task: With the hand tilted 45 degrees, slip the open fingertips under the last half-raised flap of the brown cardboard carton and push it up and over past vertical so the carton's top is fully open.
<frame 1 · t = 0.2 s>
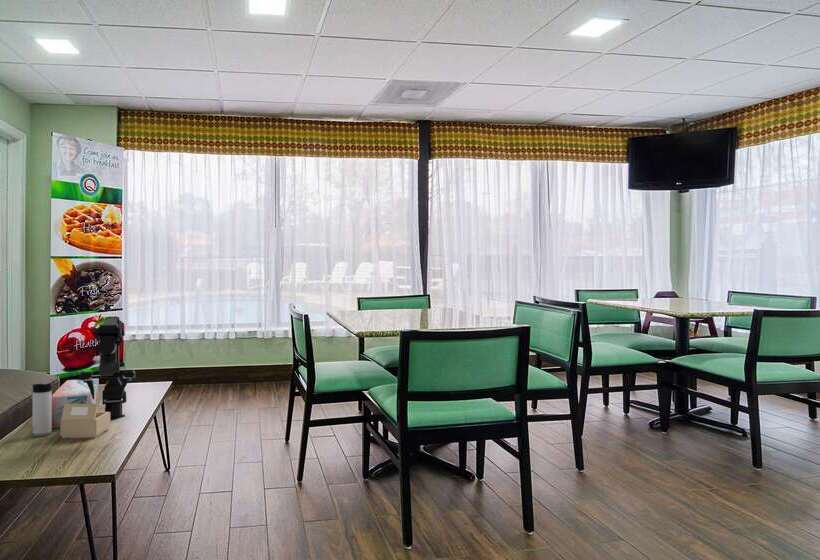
hand: (107, 398, 224), 15 cm above the table, tool pointing down, fingers open, 9 cm apart
travel mug: (41, 435, 229), on the table
soda box: (76, 416, 258), on the table
carton: (86, 433, 230), on the table
carton flap: (79, 411, 225), point 10 cm above the table, hinge at 65.0°
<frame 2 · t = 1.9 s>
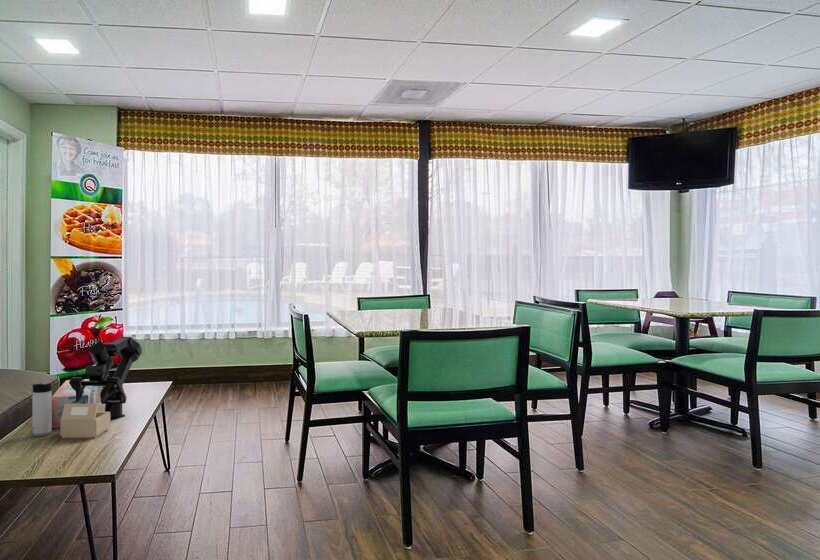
hand: (89, 402, 232), 12 cm above the table, tool tilted 45°, fingers open, 9 cm apart
nothing on the table moved.
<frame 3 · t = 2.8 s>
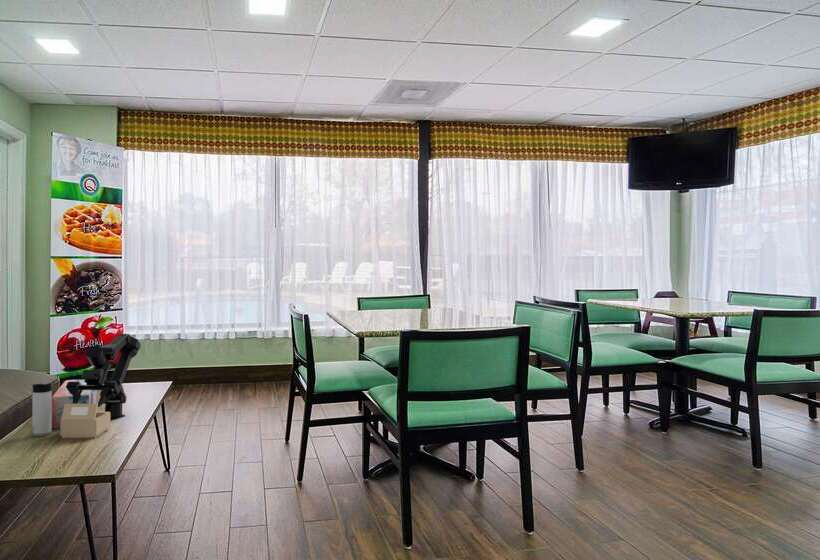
hand: (86, 406, 230), 11 cm above the table, tool tilted 45°, fingers open, 9 cm apart
nothing on the table moved.
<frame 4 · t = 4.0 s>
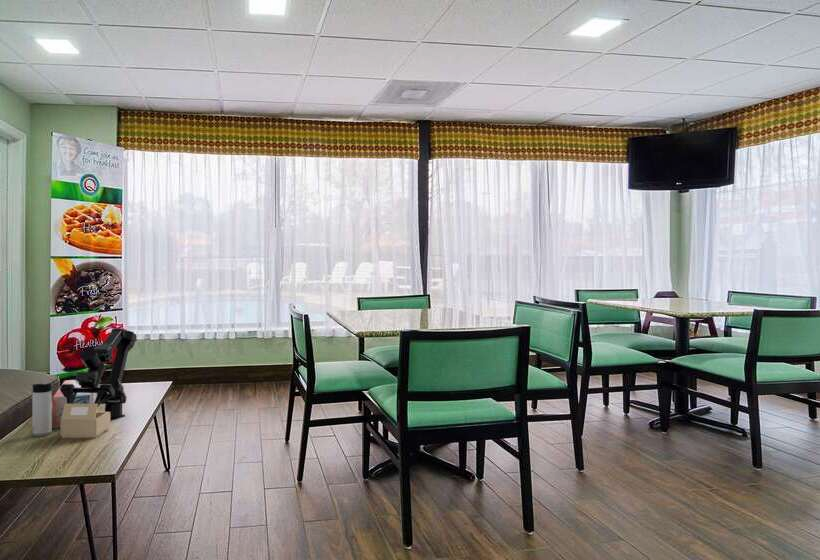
hand: (80, 409, 225), 10 cm above the table, tool tilted 45°
carton flap: (79, 411, 225), point 10 cm above the table, hinge at 66.0°, touching gripper
everything else where it was.
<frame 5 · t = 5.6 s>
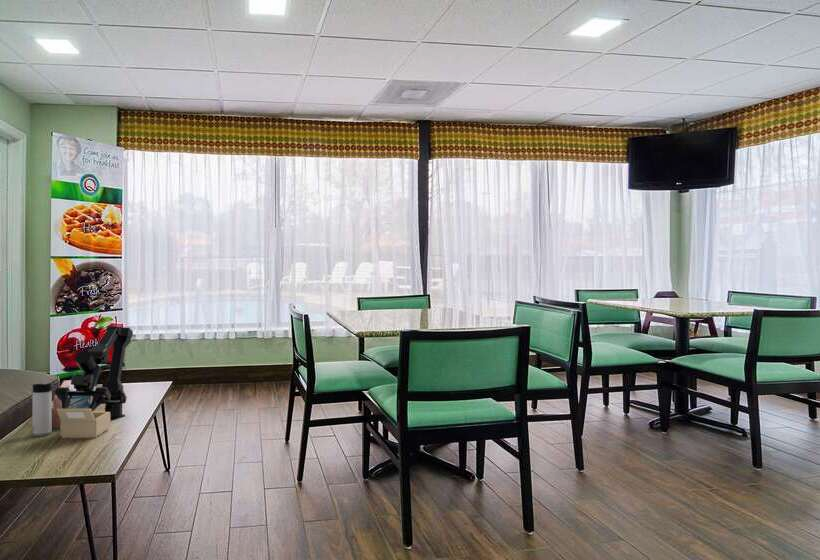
hand: (75, 413, 222), 10 cm above the table, tool tilted 45°
carton flap: (75, 415, 222), point 9 cm above the table, hinge at 123.0°, touching gripper
everything else where it was.
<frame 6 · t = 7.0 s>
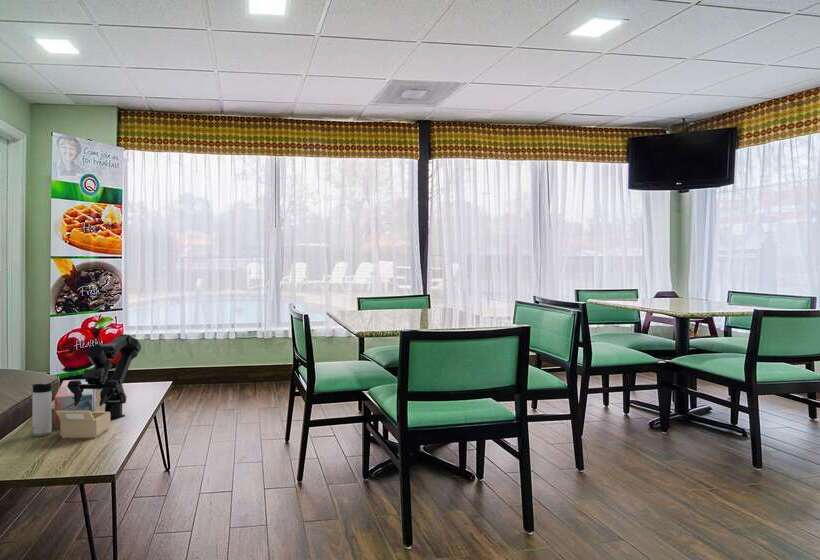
hand: (87, 405, 231), 11 cm above the table, tool tilted 45°, fingers open, 9 cm apart
carton flap: (75, 416, 222), point 9 cm above the table, hinge at 131.5°
everything else where it was.
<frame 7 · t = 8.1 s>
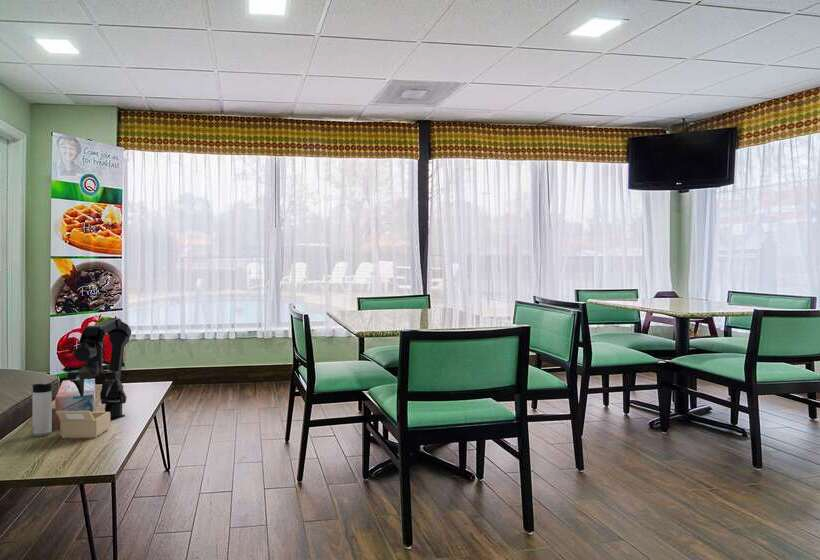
hand: (93, 396, 236), 13 cm above the table, tool pointing down, fingers open, 9 cm apart
carton flap: (75, 416, 222), point 9 cm above the table, hinge at 132.4°
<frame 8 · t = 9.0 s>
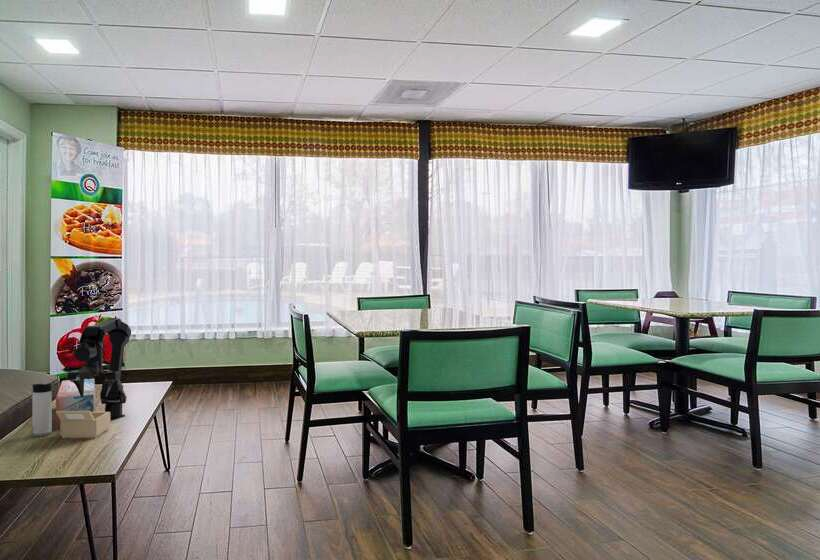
hand: (93, 396, 236), 13 cm above the table, tool pointing down, fingers open, 9 cm apart
nothing on the table moved.
at the end: carton flap at +132° (first picture: +65°); travel mug moved 0.2 cm from its start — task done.
